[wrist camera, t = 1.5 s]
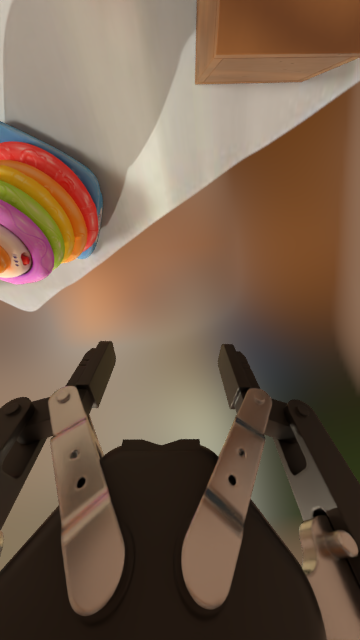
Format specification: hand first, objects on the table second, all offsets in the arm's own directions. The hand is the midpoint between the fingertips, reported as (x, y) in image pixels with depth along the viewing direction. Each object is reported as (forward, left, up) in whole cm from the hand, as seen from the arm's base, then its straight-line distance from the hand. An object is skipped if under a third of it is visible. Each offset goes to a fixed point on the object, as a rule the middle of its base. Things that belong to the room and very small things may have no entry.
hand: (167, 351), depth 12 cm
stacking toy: (-12, -9, -25) cm, 29 cm away
